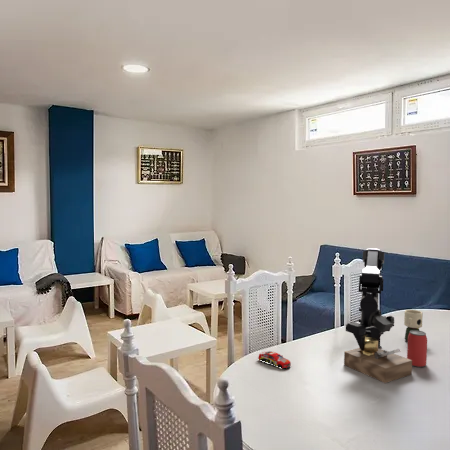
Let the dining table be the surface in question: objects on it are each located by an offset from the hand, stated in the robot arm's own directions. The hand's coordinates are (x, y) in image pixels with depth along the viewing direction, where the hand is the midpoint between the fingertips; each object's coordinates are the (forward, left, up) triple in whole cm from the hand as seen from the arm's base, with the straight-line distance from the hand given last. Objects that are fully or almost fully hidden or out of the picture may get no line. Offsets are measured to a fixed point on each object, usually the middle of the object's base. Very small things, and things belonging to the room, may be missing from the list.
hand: (368, 348), depth 157 cm
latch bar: (+9, 0, 0) cm, 9 cm away
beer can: (+8, +17, -7) cm, 20 cm away
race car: (-19, -29, -7) cm, 35 cm away
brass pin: (0, 0, -5) cm, 5 cm away
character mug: (-9, +39, -7) cm, 40 cm away
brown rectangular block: (+4, 0, -6) cm, 8 cm away
